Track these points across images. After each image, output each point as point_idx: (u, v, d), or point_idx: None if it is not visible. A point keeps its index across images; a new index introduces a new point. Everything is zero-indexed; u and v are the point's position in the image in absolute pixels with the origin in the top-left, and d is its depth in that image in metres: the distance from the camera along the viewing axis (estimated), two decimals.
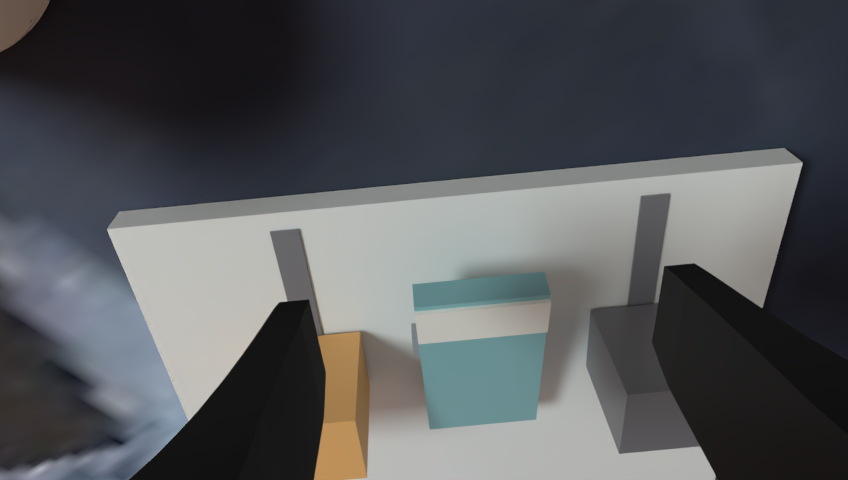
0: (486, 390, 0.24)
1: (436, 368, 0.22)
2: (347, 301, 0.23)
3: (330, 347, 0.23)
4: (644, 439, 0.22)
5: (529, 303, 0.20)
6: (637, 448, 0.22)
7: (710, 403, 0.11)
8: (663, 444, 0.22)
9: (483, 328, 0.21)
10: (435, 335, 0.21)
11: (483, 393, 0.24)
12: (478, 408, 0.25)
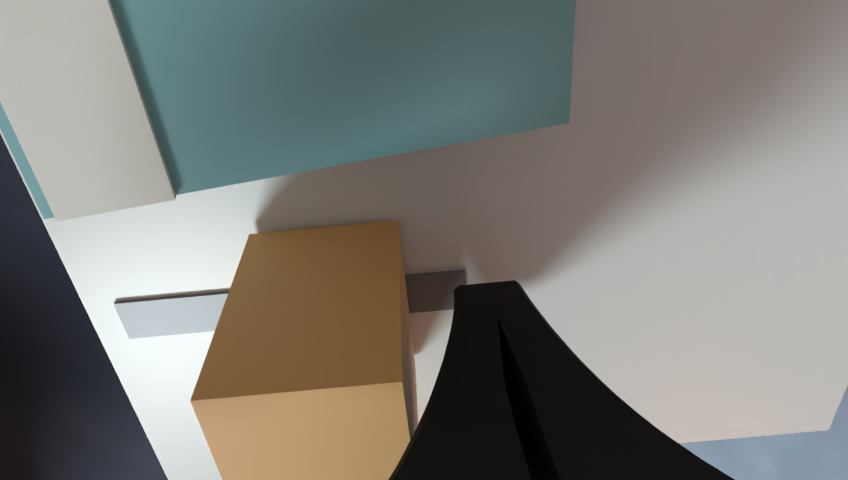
0: None
1: (289, 141, 0.09)
2: None
3: None
4: None
5: None
6: None
7: None
8: None
9: (75, 51, 0.08)
10: (130, 167, 0.09)
11: (411, 1, 0.08)
12: (489, 4, 0.09)
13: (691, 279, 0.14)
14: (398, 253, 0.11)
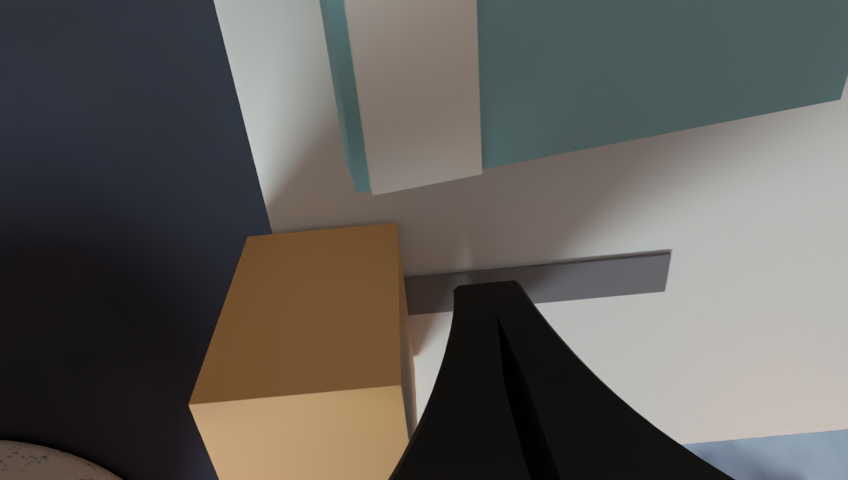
0: None
1: (591, 116, 0.09)
2: (474, 222, 0.13)
3: None
4: None
5: None
6: None
7: None
8: None
9: (434, 20, 0.08)
10: (451, 140, 0.08)
11: None
12: None
13: None
14: (397, 256, 0.11)
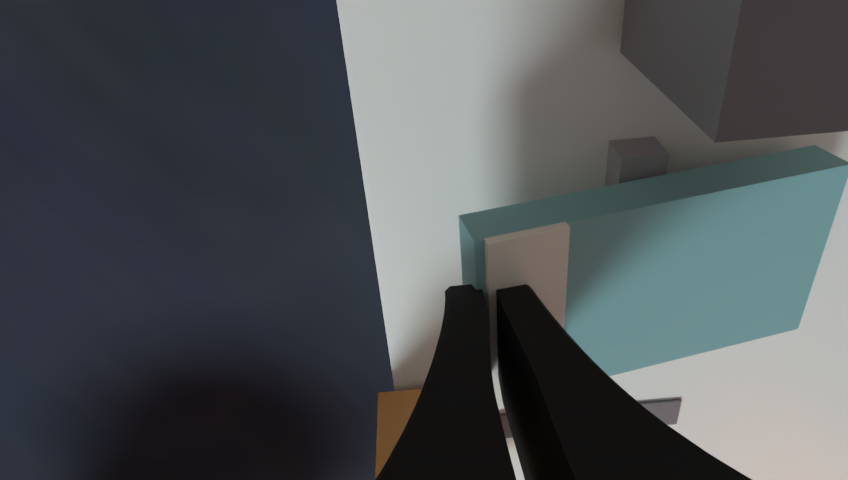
0: (718, 272, 0.13)
1: (630, 355, 0.14)
2: None
3: None
4: None
5: (490, 270, 0.12)
6: None
7: (520, 421, 0.11)
8: None
9: None
10: None
11: (724, 275, 0.13)
12: (768, 272, 0.14)
13: (844, 404, 0.19)
14: None
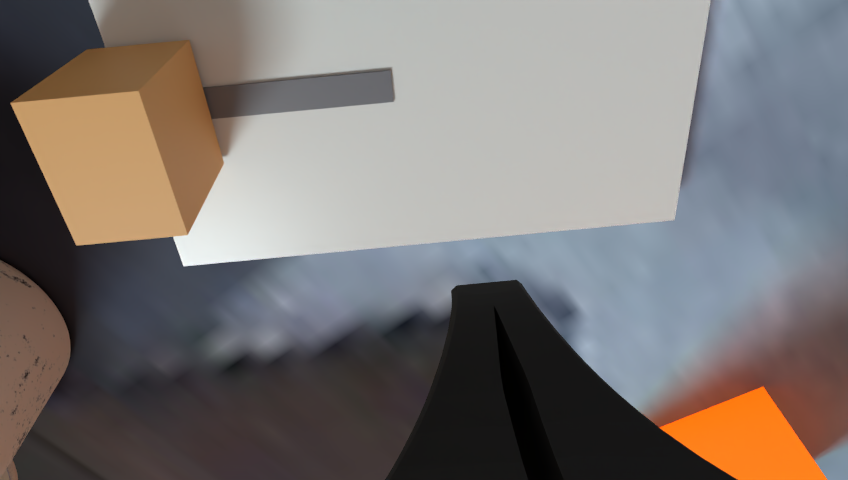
0: None
1: None
2: (246, 43, 0.18)
3: None
4: None
5: None
6: None
7: (512, 421, 0.11)
8: None
9: None
10: None
11: None
12: None
13: (552, 80, 0.20)
14: (177, 51, 0.17)
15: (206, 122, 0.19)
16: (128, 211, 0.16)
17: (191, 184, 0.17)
